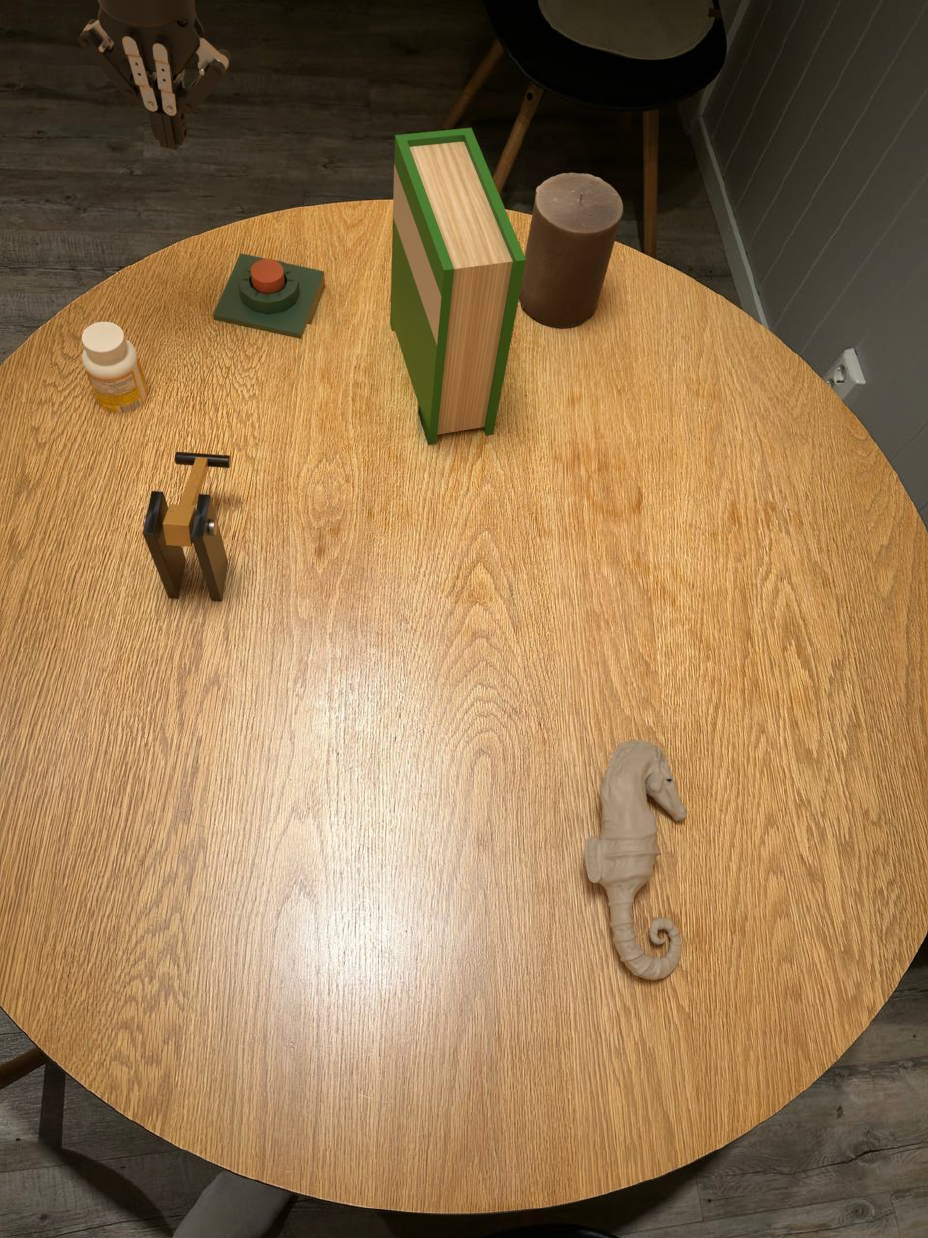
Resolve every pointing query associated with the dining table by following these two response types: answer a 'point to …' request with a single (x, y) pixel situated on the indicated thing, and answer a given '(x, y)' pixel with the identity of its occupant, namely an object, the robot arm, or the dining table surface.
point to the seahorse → (633, 848)
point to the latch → (189, 496)
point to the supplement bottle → (113, 368)
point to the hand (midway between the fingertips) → (172, 143)
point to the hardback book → (452, 279)
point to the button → (267, 276)
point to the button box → (271, 299)
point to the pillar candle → (569, 248)
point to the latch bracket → (173, 557)
